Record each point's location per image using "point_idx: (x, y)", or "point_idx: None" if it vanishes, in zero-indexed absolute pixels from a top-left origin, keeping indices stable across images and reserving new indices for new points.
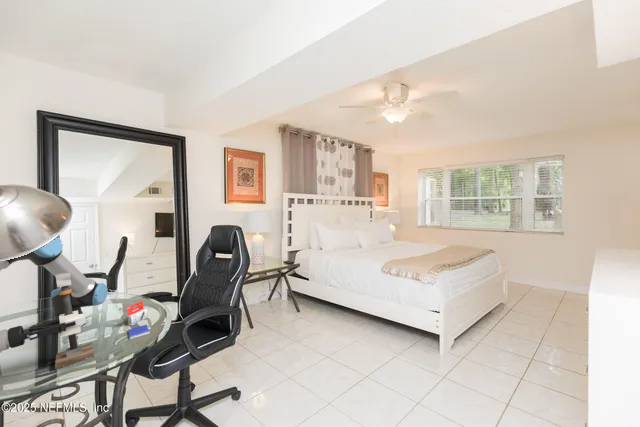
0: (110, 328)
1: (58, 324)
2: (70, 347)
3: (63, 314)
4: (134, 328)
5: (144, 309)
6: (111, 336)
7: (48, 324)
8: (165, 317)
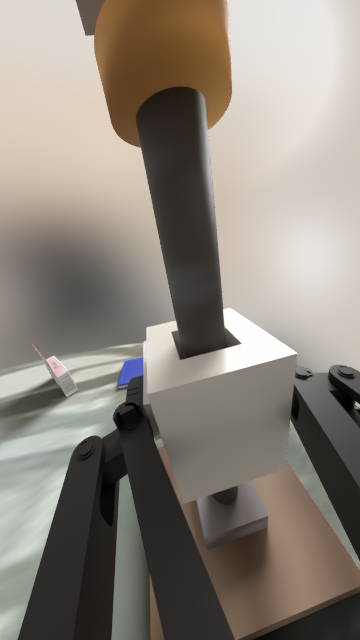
0: (14, 443)
1: (321, 397)
2: (235, 491)
3: (178, 363)
4: (125, 374)
5: (53, 357)
6: (108, 421)
7: (213, 591)
8: (111, 347)
